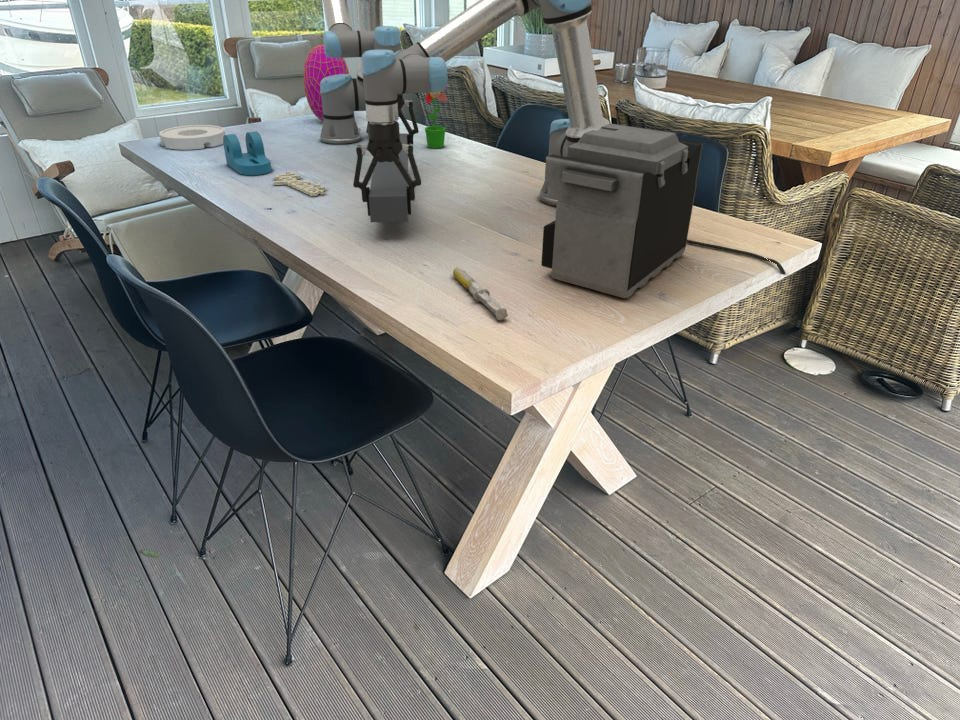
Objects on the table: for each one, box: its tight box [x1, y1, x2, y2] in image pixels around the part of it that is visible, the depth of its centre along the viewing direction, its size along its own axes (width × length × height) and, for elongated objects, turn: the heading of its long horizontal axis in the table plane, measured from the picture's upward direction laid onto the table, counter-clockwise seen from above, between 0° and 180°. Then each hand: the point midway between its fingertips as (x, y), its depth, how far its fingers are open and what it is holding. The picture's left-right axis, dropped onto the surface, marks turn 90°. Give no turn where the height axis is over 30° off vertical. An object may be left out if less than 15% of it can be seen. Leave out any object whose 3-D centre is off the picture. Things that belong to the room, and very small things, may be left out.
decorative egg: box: [303, 44, 350, 122], centre depth 287 cm, size 19×19×30 cm
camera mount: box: [222, 131, 272, 176], centre depth 226 cm, size 18×10×10 cm, turn 35°
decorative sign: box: [273, 171, 326, 197], centre depth 212 cm, size 26×1×10 cm
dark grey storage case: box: [540, 123, 704, 299], centre depth 153 cm, size 37×22×30 cm, turn 144°
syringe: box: [452, 266, 509, 321], centre depth 145 cm, size 25×4×3 cm, turn 21°
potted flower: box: [424, 84, 451, 149], centre depth 252 cm, size 9×8×25 cm
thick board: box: [369, 132, 409, 223], centre depth 197 cm, size 67×9×6 cm, turn 5°
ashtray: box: [158, 124, 226, 151], centre depth 259 cm, size 23×23×4 cm
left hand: (393, 155), depth 223 cm, fingers closed on thick board, 9 cm apart
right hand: (389, 213), depth 174 cm, fingers closed on thick board, 9 cm apart
